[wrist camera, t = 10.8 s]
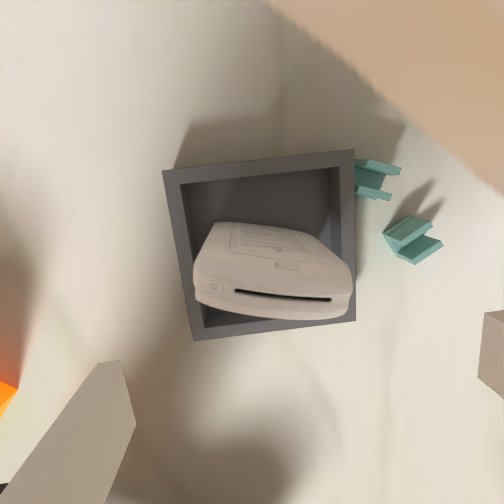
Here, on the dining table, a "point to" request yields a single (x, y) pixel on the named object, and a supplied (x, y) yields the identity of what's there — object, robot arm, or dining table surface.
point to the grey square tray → (262, 221)
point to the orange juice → (6, 396)
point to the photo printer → (270, 273)
